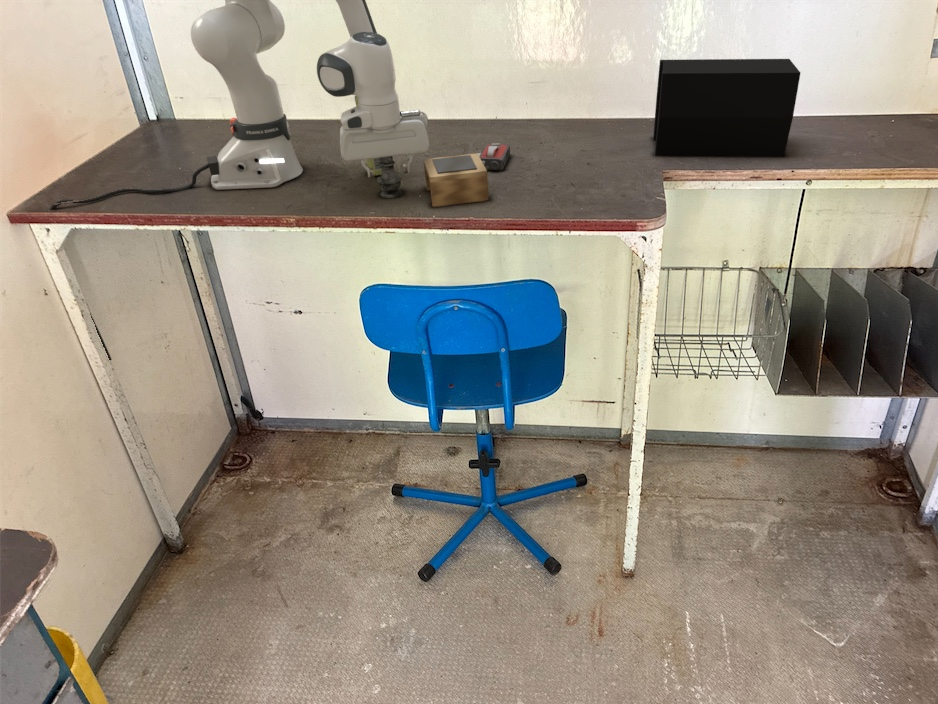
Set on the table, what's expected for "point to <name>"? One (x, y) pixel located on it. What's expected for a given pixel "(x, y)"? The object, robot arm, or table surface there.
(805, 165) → the table surface
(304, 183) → the table surface
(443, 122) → the table surface
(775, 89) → the uninterruptible power supply
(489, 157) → the walkie-talkie
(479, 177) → the stand
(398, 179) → the chess piece
